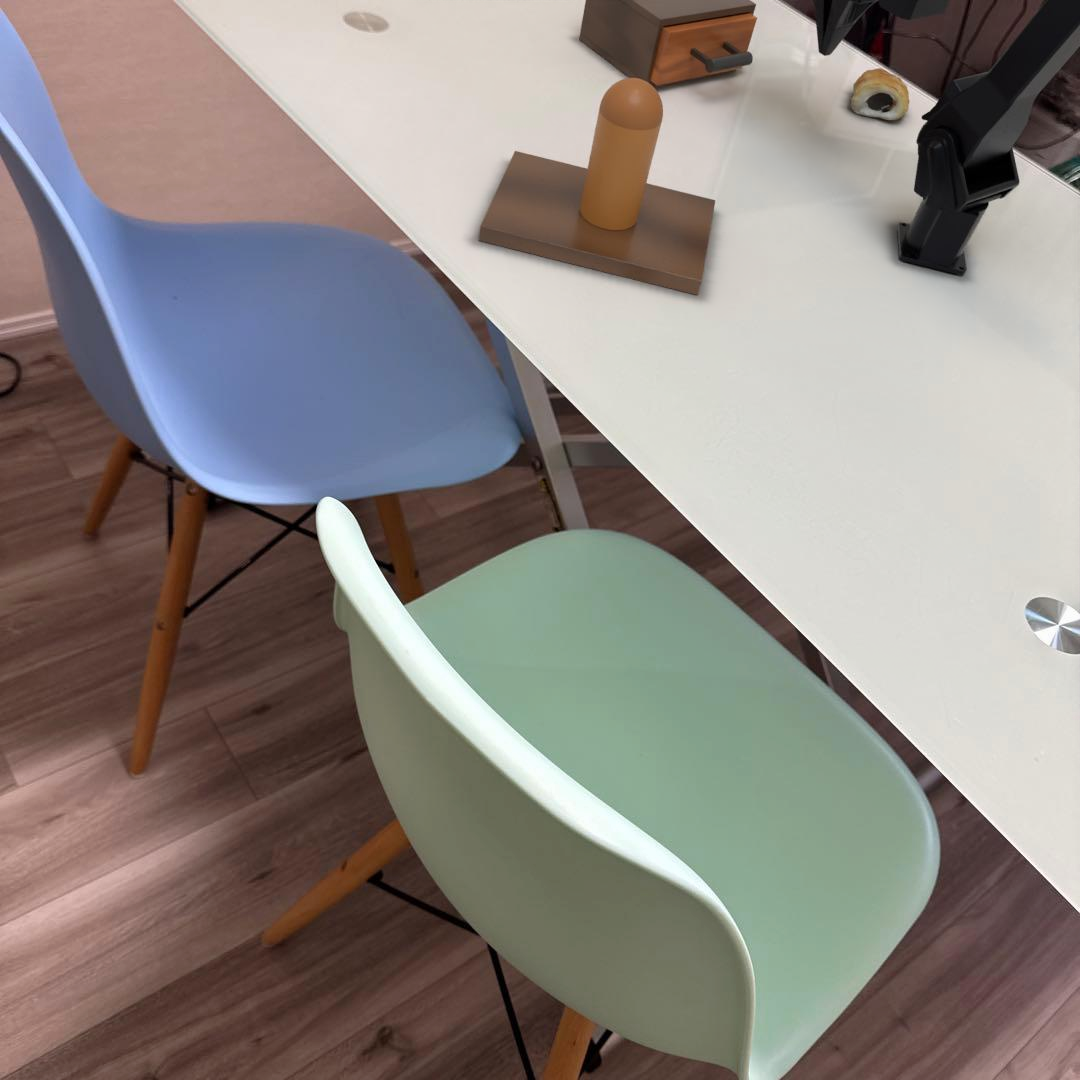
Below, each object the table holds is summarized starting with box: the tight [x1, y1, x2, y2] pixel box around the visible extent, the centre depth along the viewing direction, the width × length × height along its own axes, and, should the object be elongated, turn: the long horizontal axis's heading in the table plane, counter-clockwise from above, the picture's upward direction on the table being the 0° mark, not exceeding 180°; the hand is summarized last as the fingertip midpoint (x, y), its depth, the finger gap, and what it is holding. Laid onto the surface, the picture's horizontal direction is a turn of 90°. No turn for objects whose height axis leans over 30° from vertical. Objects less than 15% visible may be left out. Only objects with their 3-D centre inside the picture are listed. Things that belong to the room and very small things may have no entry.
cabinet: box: [578, 0, 757, 88], centre depth 114 cm, size 13×15×8 cm
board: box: [478, 150, 716, 296], centre depth 91 cm, size 14×20×2 cm
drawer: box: [651, 13, 758, 86], centre depth 112 cm, size 16×13×6 cm
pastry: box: [850, 68, 910, 121], centre depth 116 cm, size 9×7×4 cm
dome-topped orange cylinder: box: [580, 77, 664, 230], centre depth 85 cm, size 5×5×12 cm
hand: (824, 53), depth 98 cm, fingers closed
